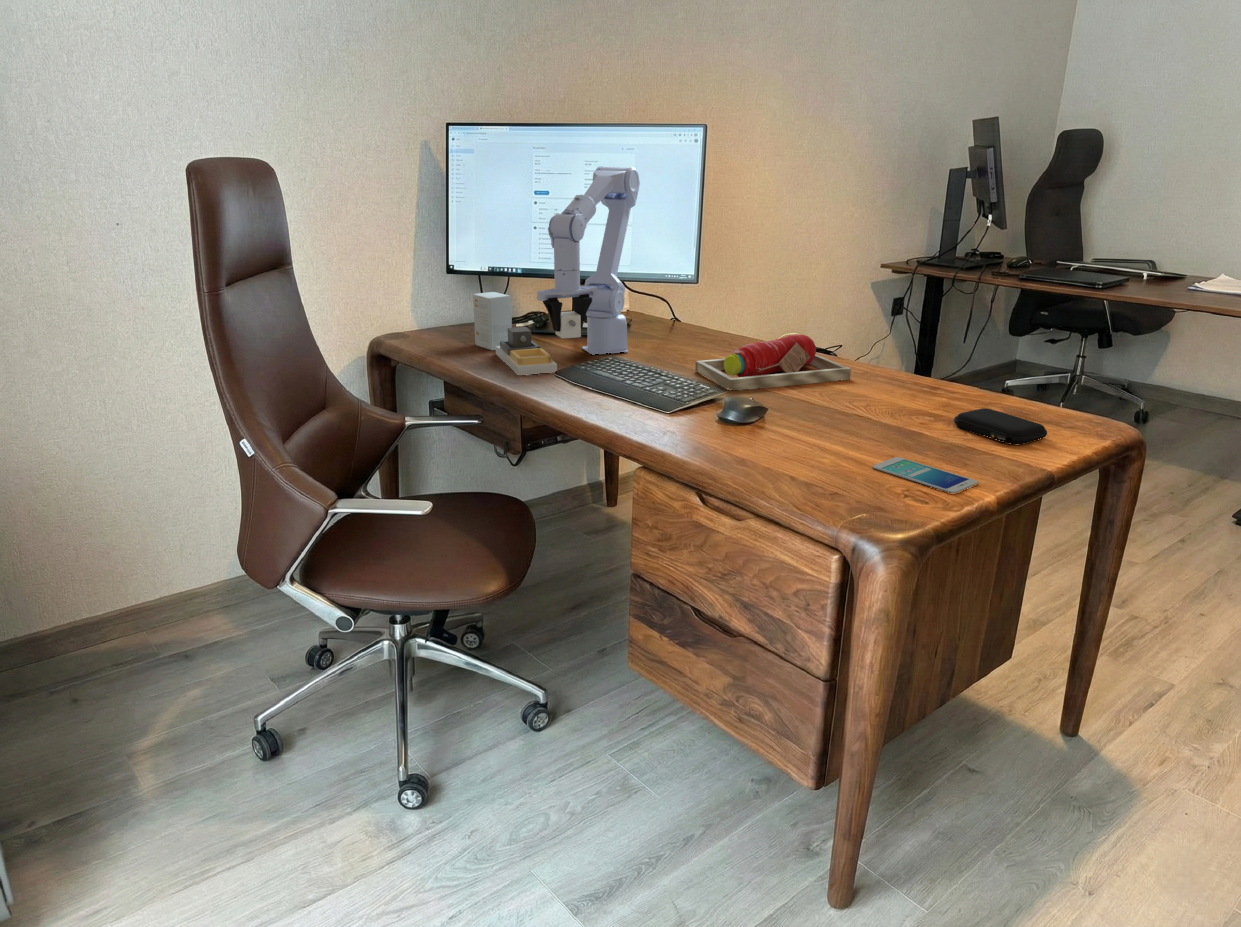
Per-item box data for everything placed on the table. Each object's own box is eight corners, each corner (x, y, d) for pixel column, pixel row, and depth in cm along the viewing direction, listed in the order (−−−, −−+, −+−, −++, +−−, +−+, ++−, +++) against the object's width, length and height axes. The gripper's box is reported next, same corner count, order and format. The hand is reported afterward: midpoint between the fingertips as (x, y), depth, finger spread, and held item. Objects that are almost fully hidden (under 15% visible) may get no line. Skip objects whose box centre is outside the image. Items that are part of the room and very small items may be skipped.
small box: (513, 347, 229) (511, 295, 224) (491, 350, 225) (489, 298, 221) (496, 341, 235) (494, 291, 230) (474, 345, 231) (472, 293, 226)
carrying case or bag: (943, 428, 169) (1011, 451, 157) (945, 412, 168) (1014, 434, 156) (982, 420, 174) (1050, 441, 162) (984, 404, 173) (1053, 425, 161)
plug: (574, 332, 212) (573, 311, 211) (583, 338, 206) (582, 316, 205) (555, 334, 211) (555, 312, 209) (564, 339, 205) (563, 317, 203)
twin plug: (526, 347, 220) (525, 326, 218) (533, 353, 214) (532, 332, 212) (508, 348, 218) (507, 328, 217) (514, 354, 213) (514, 333, 211)
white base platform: (532, 351, 224) (531, 337, 223) (557, 372, 205) (556, 357, 204) (496, 354, 221) (495, 340, 220) (518, 376, 202) (517, 360, 201)
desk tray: (808, 361, 216) (809, 351, 215) (850, 379, 201) (851, 368, 200) (695, 371, 206) (695, 361, 206) (729, 391, 191) (730, 379, 190)
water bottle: (835, 343, 204) (756, 360, 189) (828, 376, 208) (750, 395, 193) (796, 325, 212) (717, 340, 198) (789, 357, 216) (712, 374, 201)
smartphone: (897, 456, 152) (980, 481, 141) (896, 460, 153) (979, 486, 142) (870, 466, 148) (954, 492, 137) (870, 470, 148) (953, 497, 137)
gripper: (585, 264, 211) (586, 323, 216) (529, 269, 204) (531, 329, 208) (601, 268, 205) (601, 328, 210) (544, 273, 198) (546, 335, 203)
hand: (568, 329), depth 209 cm, fingers closed on plug, 5 cm apart
